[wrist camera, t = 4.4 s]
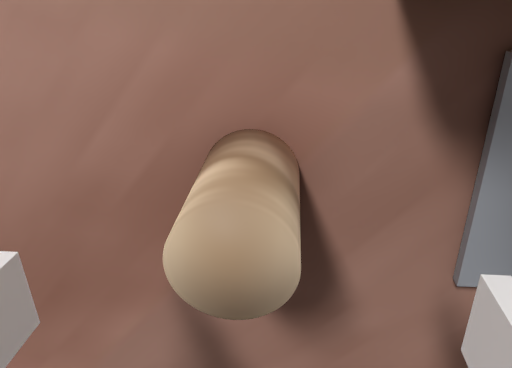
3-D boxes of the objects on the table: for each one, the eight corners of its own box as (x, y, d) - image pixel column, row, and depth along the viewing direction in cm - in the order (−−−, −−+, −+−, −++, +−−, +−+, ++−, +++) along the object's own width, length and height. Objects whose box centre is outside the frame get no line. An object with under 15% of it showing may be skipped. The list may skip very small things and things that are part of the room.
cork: (208, 214, 21) (170, 317, 15) (201, 128, 19) (154, 204, 13) (298, 216, 20) (298, 322, 14) (300, 129, 18) (303, 208, 12)
